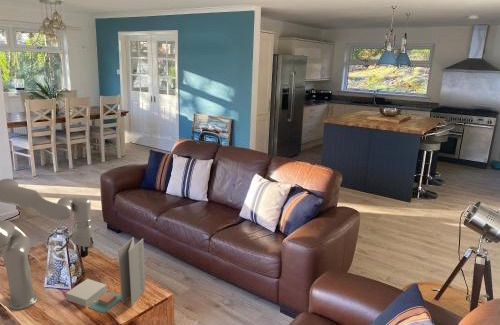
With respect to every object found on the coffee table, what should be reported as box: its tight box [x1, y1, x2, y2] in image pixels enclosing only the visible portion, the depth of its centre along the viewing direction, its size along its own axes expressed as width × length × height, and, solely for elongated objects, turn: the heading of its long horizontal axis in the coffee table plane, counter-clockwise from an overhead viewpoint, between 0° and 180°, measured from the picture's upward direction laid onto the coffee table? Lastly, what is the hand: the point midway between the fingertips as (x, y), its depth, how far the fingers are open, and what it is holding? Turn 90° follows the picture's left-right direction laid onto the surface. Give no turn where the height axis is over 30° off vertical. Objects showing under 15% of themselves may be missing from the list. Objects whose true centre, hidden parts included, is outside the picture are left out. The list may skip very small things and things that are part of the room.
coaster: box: [97, 292, 116, 306], centre depth 188 cm, size 6×6×2 cm
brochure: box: [117, 236, 146, 307], centre depth 188 cm, size 14×6×30 cm, turn 168°
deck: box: [65, 278, 108, 308], centre depth 191 cm, size 13×14×4 cm
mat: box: [87, 291, 122, 314], centre depth 187 cm, size 10×14×1 cm
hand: (84, 256), depth 189 cm, fingers closed
